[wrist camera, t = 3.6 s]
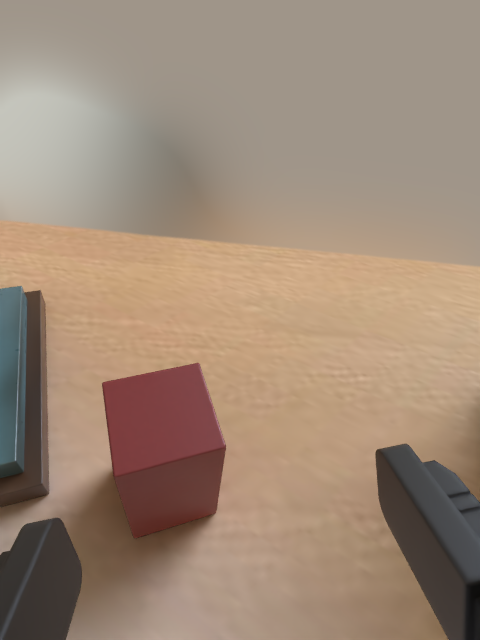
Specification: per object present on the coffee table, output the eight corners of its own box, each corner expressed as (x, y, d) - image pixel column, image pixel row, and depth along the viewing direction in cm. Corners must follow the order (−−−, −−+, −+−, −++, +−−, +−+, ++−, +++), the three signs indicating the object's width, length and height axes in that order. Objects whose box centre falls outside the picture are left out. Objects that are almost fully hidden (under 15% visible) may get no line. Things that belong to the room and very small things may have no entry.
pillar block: (196, 440, 28) (199, 362, 22) (216, 513, 25) (226, 447, 19) (122, 459, 27) (101, 381, 20) (133, 539, 24) (113, 477, 17)
